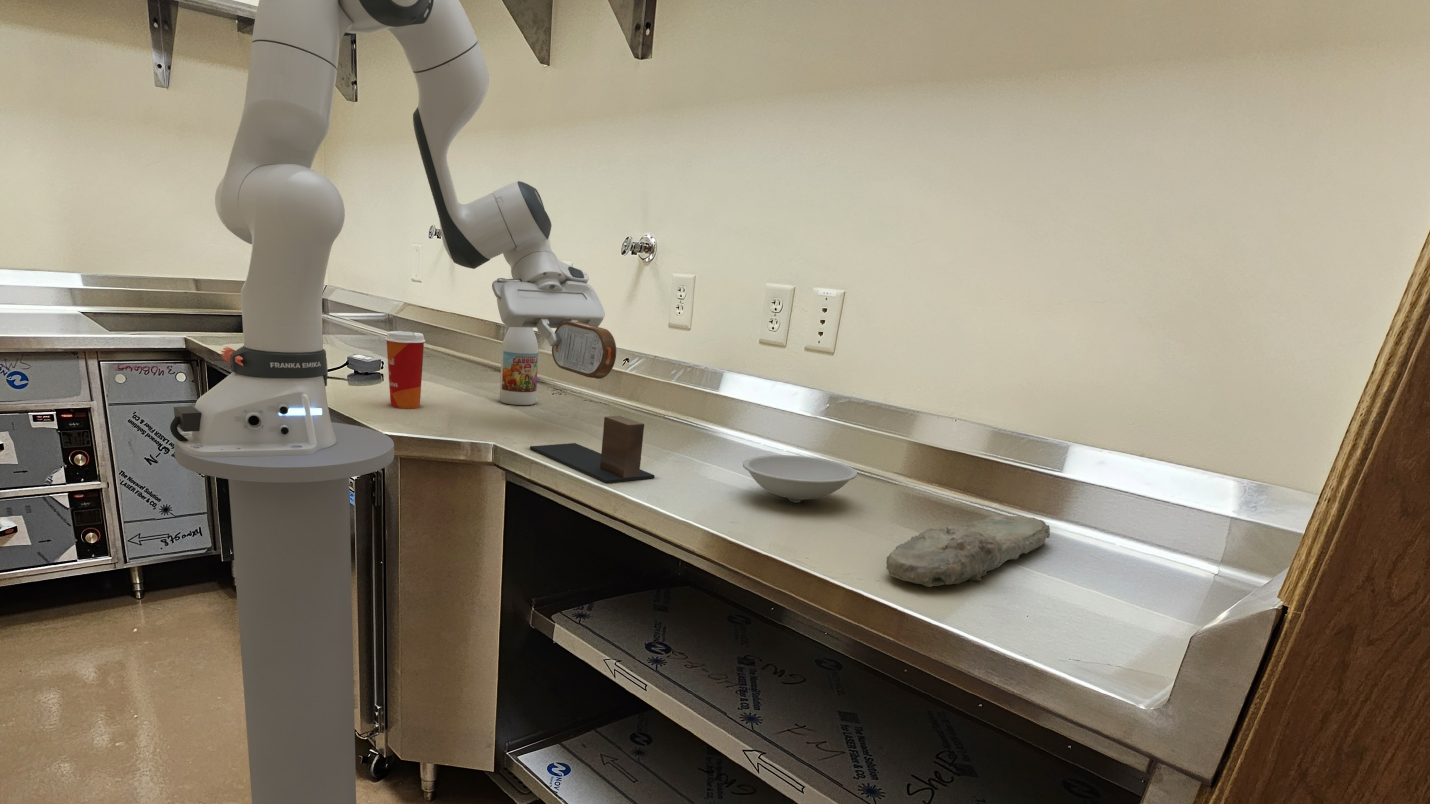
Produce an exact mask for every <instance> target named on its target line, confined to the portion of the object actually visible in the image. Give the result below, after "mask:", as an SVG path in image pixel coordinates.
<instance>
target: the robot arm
mask: <svg viewBox="0 0 1430 804" xmlns="http://www.w3.org/2000/svg"><path fill="white" fill-rule="evenodd" d="M253 23H254V24H253V28H252V29H253V30H252V36H251V37H252V38H251V45H250V46H251V47H250V54H249V62H248V63H249V64H248V72H247V82H246V90H245V98H244V104H243V109H242V113H241V117H240V122H239V125H238V130H237V132H236V135H235V139H234V142H233V145H232V147H231V152H230V155H229V158H228V164H227V166H226V170H225V173H224V175H223V177H222V179H221V180H220V181H219V183H218V185H217V188H216V190H215V194H214V205H215V206H214V207H215V210H216V214H217V216H218V218H219V220H220V221H221V223H222V224H223V226H224V227H225V228H226V229H227V230H228V231H229V232H231V234H233V235H234V236H236V237H237V238H238V239H240V240H242V241H243V242H245V243H247V244H249V245H251V252H250V258H249V259H250V261H249V266H248V271H247V275H246V279H245V281H244V283H243V285H242V287H241V290H240V302H241V303H240V304H241V317H242V319H241V320H242V321H241V322H242V336H243V345H242V346H240V347H239V348H237V349H233V348H232V347H229V346H226V347H224V348H222V350H220V351H221V353H220V356H221V358H222V359H223V360H224V361H226V362H227V363H229V364H230V371H231V373H230V374H228V376H226V377H224V379H222V380H221V381H220V382H218V383H217V384H216V385H215V386H213V387H211V389H209V390H207V391H206V392H205V393H203V394H202V395H201V396H200V397H199V398H198V399H197V400H196V402H195V404H194V406H192V405H186V406H185V405H183V406H173V416H174V417H173V419H172V420H171V422H170V425H169V428H170V433H171V434H172V436H173V437H174V438H175V440H176V439H177V445H178V446H179V448H180V449H181V450H183V451H184V452H186V453H189V454H191V455H195V456H199V457H250V456H297V455H312V454H314V453H316V452H317V451H318V450H321V449H324V448H327V447H330V446H332V445H334V444H335V443H336V442H337V439H336V437H335V434H334V430H333V427H332V423H331V422H332V419H331V415H330V409H329V404H328V397H327V389H326V387H327V386H328V377H329V375H328V374H329V372H328V370H329V369H328V367H329V366H328V359H327V351H326V349H325V348H324V339H323V293H324V285H325V278H326V274H327V268H328V264H329V259H330V255H331V251H332V248H333V244H334V243H335V240H337V238H338V236H339V235H340V233H341V231H342V229H343V227H344V223H345V219H346V218H345V216H346V212H345V203H344V200H343V197H342V195H341V193H340V191H339V190H338V187H336V185H335V184H334V183H333V181H331V180H330V179H329V178H328V177H326V176H325V175H323V174H322V173H320V172H317V171H316V170H314V169H312V167H313V163H314V161H315V158H316V156H317V154H318V151H319V149H320V147H321V145H322V144H323V142H324V141H325V140H326V138H327V137H328V135H329V131H330V130H331V129H330V128H331V122H332V114H333V107H334V101H335V100H334V99H335V92H336V82H337V77H338V67H339V56H340V55H339V54H340V47H341V43H342V40H343V38H344V37H348V36H354V35H357V34H359V35H360V34H378V33H380V32H384V31H386V30H387V31H389V32H390V34H392V35H393V37H395V39H396V40H397V41H398V43H399V44H400V46H401V47H402V49H403V52H404V55H405V57H406V60H407V62H408V64H409V66H410V69H411V71H412V74H413V77H414V79H415V81H416V86H417V93H418V105H417V107H416V108H415V111H414V112H413V113H412V123H413V124H412V125H413V131H414V134H415V139H416V142H417V146H418V149H419V154H420V158H421V162H422V165H423V168H424V171H425V175H426V178H427V182H428V184H429V188H430V191H431V192H430V193H431V195H432V198H433V202H434V205H435V208H436V212H437V216H438V219H439V228H440V235H441V240H442V243H443V247H444V248H445V251H446V253H447V255H448V256H449V258H450V259H451V260H452V261H453V263H454V264H456V265H458V266H460V267H464V268H467V269H473V270H475V269H477V268H479V267H480V266H482V265H484V264H486V263H487V262H489V261H491V259H493V258H496V257H498V256H500V255H503V257H504V260H505V261H506V263H507V264H508V265H509V267H510V275H511V278H506V277H505V278H504V277H498V278H497V279H496V280H494V281H492V284H491V290H492V291H493V294H494V296H495V297H496V305H497V309H498V313H499V317H500V320H501V322H502V323H503V325H505V326H506V327H507V328H509V327H529V328H533V329H534V328H535V329H537V332H538V333H539V334H540V335H541V336H543V338H544V339H546V341H547V343H548V345H549V347H552V346H558V345H559V344H560V343H561V338H560V337H559V333H555V330H554V329H557V327H558V326H559V325H560V324H561V323H563V322H567V321H570V322H581V323H585V324H589V325H592V326H596V327H600V326H601V324H602V322H603V321H604V319H605V317H606V311H605V309H604V307H603V304H602V302H601V300H600V297H599V295H598V294H597V292H596V290H595V289H594V287H593V286H592V285H591V284H589V283H588V282H589V280H590V278H589V274H588V273H587V272H586V271H585V270H582V269H581V268H580V269H579V268H576V267H574V266H573V265H569V264H567V263H566V262H564V261H562V260H559V259H558V256H557V255H556V253H555V252H554V251H553V250H552V248H551V241H550V235H551V231H552V221H551V219H550V216H549V215H548V213H547V211H546V209H545V206H544V202H543V200H542V198H541V195H540V193H539V190H538V189H537V188H535V187H534V186H532V185H530V184H529V183H526V182H524V181H520V180H518V181H515V182H511V183H509V184H507V185H504V186H503V187H500V188H498V189H496V190H493V192H491V193H488V194H486V195H484V196H481V197H479V198H477V199H475V200H473V201H470V202H468V203H466V204H462V203H460V202H459V200H458V196H457V193H456V189H455V185H454V182H453V179H452V178H453V177H452V174H451V170H450V167H449V164H448V163H449V162H448V151H449V147H450V146H451V144H452V142H453V141H454V139H455V137H456V136H457V135H458V134H459V133H460V131H461V130H463V128H464V127H465V126H466V125H467V124H468V123H469V122H470V121H471V119H472V118H473V117H474V116H475V115H476V114H477V112H478V111H479V109H480V108H481V106H482V104H483V103H484V101H485V99H486V96H487V93H488V90H489V83H490V74H489V70H488V66H487V63H486V60H485V56H484V53H483V50H482V48H481V47H482V46H481V45H480V42H479V39H478V38H477V37H478V36H477V35H476V32H475V30H474V28H473V26H472V23H471V21H470V19H469V17H468V14H467V12H466V11H465V9H464V7H463V5H462V3H461V1H460V0H258V3H257V8H256V12H255V17H254V22H253ZM179 429H180V430H181V432H180V431H179Z"/></svg>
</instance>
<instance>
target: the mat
mask: <svg viewBox="0 0 1430 804" xmlns="http://www.w3.org/2000/svg"><path fill="white" fill-rule="evenodd" d="M529 450H530V451H533V452H536V453H538V454H540V455H542V456H544V457H547V458H549V459H551V460H553V461H556V462H557V463H560V464H563V465H565V466H567V467H569V468H572V469H573V470H576V471H579V472H580V473H582V474H584V475H587V476H590V477H592V478H594V479H596V480H598V481H600V482H602V483H605V484H613V483H621V482H623V483H624V482H630V481H641V480H642V481H643V480H650V479H655V474H653V473H651V472H648V471H645V470H643V469H641V468H640V472H639V477H631V478H622V477H619V476H617V475H615V474H612V473H610V472H607V471H605V470H603V469H600V464H601V452H599V451H596V450H593V449H591V448H588V447H586V446H583V445H581V444H579V443H576V442H570V443H569V442H568V443H556V444H543V445H540V444H539V445H530V446H529Z"/></svg>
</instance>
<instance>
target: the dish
mask: <svg viewBox="0 0 1430 804" xmlns="http://www.w3.org/2000/svg"><path fill="white" fill-rule="evenodd" d="M742 467H743V468H744V469H745V470H746V471H748V473H749V474H750V476H751V477H752V478H753V480H754V481H755V482H756V483H757V485H758V486H760V487H761V489H763V490H764V491H767V492H768V493H770V494H773V495H775V496H779V497H782V498H786V499H788V502H789V501H790V502H792V503H800V502H801V501H802V500H813V499H819V498H824V497H827V496H829V495H831V494H833V493H835V492H837V491H839V490H840V489H842V488H843V487H844V486H845V485H847V483H848V482H849V481H852V480H854V479H855V478H857V476H858V472H857V470H856V469H855V468H854V467H851V466H850V465H847V464H845V463H841V462H838V461H834V460H830V459H824V458H820V457H813V456H806V455H805V456H803V455H791V454H772V455H771V454H770V455H769V454H768V455H759V456H754V457H749V458H747V459H745V460H744V461H743V462H742Z"/></svg>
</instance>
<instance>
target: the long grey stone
mask: <svg viewBox="0 0 1430 804" xmlns="http://www.w3.org/2000/svg"><path fill="white" fill-rule="evenodd" d="M1050 532H1051V528H1050V525H1049V524H1046V522H1045V521H1044V520H1043V519H1038V518H1036V517H1027V516H1022V515H1002V514H1001V515H1000V514H999V515H998V514H996V515H993V516H990V517H987V518H984V519H979V520H975V521H971V522H967V523H964V524H962V525H950V526H949V525H947V526H946V528H941V527H940V528H927V529H925V530H923V531H922V532H920V533H919V534H917V535H914V536H911V537H910V539H909V540H907V541H904V542H903V543H900V544H898V545H896V547H895V548H894V549H893V550H892V552H891V553H889V555H888V556H886V562H885V563H886V570H887V571H888V574H889V576H891V577H893V578H896V579H899V580H901V581H904V582H909V583H913V584H920V585H923V586H925V587H927V588H932V587H936V586H945V585H946V586H947V585H954V584H955V585H959V584H961V583H964V582H967V581H971V582H972V581H973V582H975V581H976V582H980V581H982V578H981V577H983V576H987V572H989V571H993V570H994V569H997V568H999V567H1001V565H1004V563H1005V562H1006V561H1008V560H1009V561H1010V560H1017V559H1019V557H1020V555H1022V554H1028V553H1029V552H1032V551H1035V550H1037V549H1038V548H1040V547H1041V546H1043V545H1044V544H1045V542H1046V539H1049V538H1050V536H1051V533H1050Z"/></svg>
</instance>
